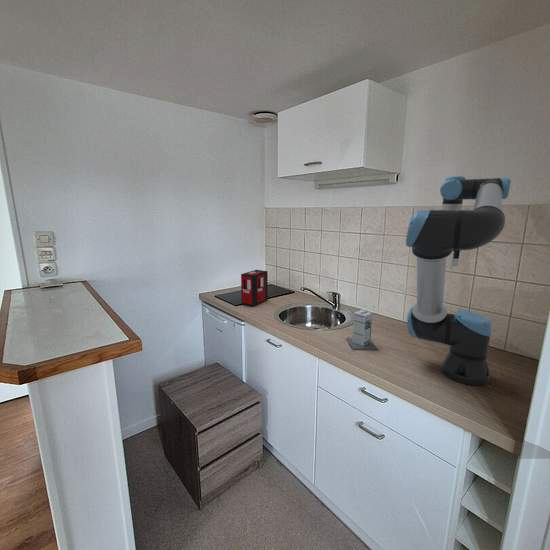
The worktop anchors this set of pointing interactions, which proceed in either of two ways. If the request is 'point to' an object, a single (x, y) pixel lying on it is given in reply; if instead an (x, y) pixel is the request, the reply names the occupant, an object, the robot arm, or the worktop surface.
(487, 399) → the worktop surface
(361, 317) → the syrup box
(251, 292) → the cleaning product box
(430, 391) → the worktop surface
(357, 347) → the charcoal mat
